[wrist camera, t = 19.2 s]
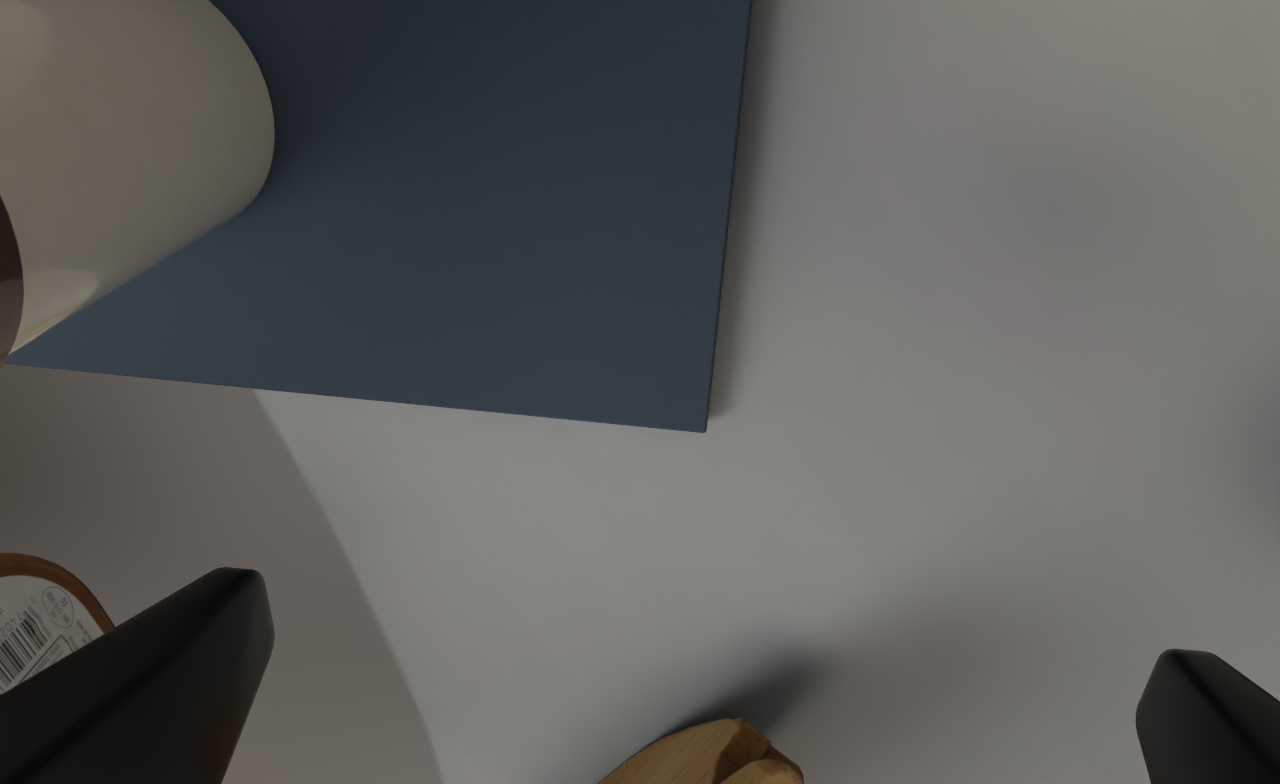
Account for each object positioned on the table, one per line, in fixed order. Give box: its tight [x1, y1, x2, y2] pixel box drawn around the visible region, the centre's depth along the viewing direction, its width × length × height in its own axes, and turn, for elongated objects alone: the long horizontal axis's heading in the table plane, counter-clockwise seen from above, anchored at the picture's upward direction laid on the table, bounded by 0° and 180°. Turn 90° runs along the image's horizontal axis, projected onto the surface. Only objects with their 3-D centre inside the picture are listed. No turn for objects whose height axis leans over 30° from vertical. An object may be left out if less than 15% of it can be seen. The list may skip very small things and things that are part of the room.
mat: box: [3, 0, 752, 433], centre depth 20 cm, size 20×13×1 cm, turn 87°
